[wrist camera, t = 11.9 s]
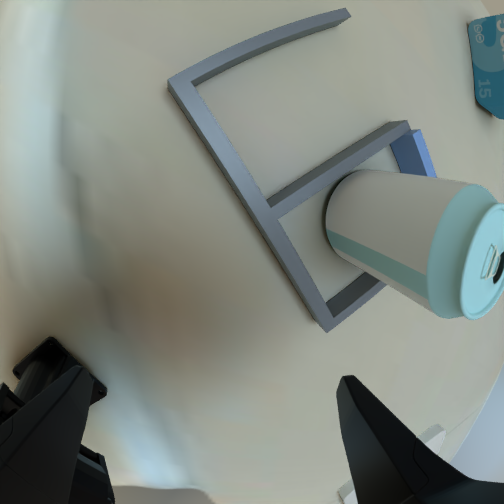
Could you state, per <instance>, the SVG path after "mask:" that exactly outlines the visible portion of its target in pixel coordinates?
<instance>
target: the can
mask: <svg viewBox="0 0 504 504" xmlns="http://www.w3.org/2000/svg"><path fill="white" fill-rule="evenodd" d="M326 231H327V235H328V239H329V242H330V244H331V246H332V247H333V249H334V250H335V252H336V253H337V254H338V255H339V256H340V257H342V258H343V259H345V260H346V261H348V262H350V263H352V264H353V265H355V266H357V267H358V268H360V269H362V270H363V271H365V272H367V273H369V274H370V275H372V276H374V277H375V278H377V279H379V280H380V281H382V282H384V283H385V284H387V285H389V286H390V287H392V288H394V289H395V290H397V291H399V292H400V293H402V294H404V295H405V296H407V297H408V298H410V299H412V300H413V301H415V302H417V303H418V304H420V305H421V306H423V307H425V308H426V309H428V310H429V311H431V312H433V313H434V314H436V315H437V316H439V317H442V318H447V319H451V318H456V317H461V316H465V317H466V318H467V319H469V320H476V319H479V318H481V317H482V316H484V315H485V314H486V313H487V312H488V311H489V310H490V309H491V308H492V307H493V306H494V305H495V303H496V302H497V300H498V299H499V297H500V296H501V294H502V292H503V290H504V204H503V203H498V202H497V200H496V199H495V198H494V197H493V195H492V194H491V193H490V192H489V191H488V190H487V189H486V188H484V187H483V186H481V185H478V184H472V183H467V182H461V181H455V180H448V179H442V178H435V177H428V176H420V175H413V174H404V173H395V172H386V171H376V170H360V171H357V172H354V173H352V174H350V175H349V176H347V177H346V178H344V179H343V180H342V181H341V182H340V183H339V185H338V186H337V187H336V189H335V190H334V192H333V194H332V196H331V198H330V201H329V203H328V207H327V212H326Z"/></svg>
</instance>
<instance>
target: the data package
mask: <svg viewBox="0 0 504 504" xmlns="http://www.w3.org/2000/svg"><path fill="white" fill-rule="evenodd" d="M468 34H469V40H470V46H471V54H472V62H473V72H474V85H475V96H476V99H477V101H478V103H479V104H480V105H482V106H483V107H484V108H486V109H487V110H488V111H489V112H491V113H492V114H493V115H494V116H496V117H497V118H499V119H504V14H500V15H495V16H490V17H485V18H481V19H476V20H474V21H472V22H471V23H470V25H469V27H468Z"/></svg>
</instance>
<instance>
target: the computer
mask: <svg viewBox="0 0 504 504" xmlns="http://www.w3.org/2000/svg"><path fill="white" fill-rule="evenodd" d="M445 434H446V431H445V430H444V429H443V428H442V427H441V426H440V425H439V424H435V425H433V426H431V427H430V428H428V429H427V430H426V431H425V432H423V433H422V434H421V435H419V436H418V438H419V439H420V440H421V441H422V442H423V443H424V444H425V445H426V446H427V447H428V448H429V449H431V450H432V451H433V452H434V453H435V454H437V455H438V453H439V451H440V448H441V445H442V443H443V440H444V437H445ZM339 494H340V497H341V499H342V501H343V504H358V502H357V498H356V493H355V489H354V484H353V480H352V479H351V480H350V481H348V482H347V483H345V484H344V485H343V486H342V487H341V488H340V489H339Z"/></svg>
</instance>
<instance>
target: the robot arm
mask: <svg viewBox="0 0 504 504" xmlns="http://www.w3.org/2000/svg"><path fill="white" fill-rule="evenodd" d="M49 342H50V343H52V344H53V345H51V344H50V343H49ZM17 371H18V372H17ZM13 374H14V375H15V376H16V377H17V378H18V379H19V380H20V381H19V383H18V385H17V387H16V389H15V391H14V393H13V392H12V391H11V390H10V389H9V387H8V386H7V385H6V384H5V383H4V382H3V383H2V384H1V385H0V504H115V498H114V493H113V489H112V486H111V482H110V478H109V475H108V471H107V467H106V462H105V458H104V456H102V455H101V454H99V453H95V452H94V451H92V450H90V449H89V448H87V447H85V446H84V445H82V444H81V440H82V437H83V433H84V429H85V425H86V421H87V416H88V410H89V406H90V405H92V404H93V403H95V402H97V401H99V400H100V399H102V398H104V397H105V396H106V395H107V388H106V387H105V386H104V385H102V384H101V383H100V382H99V381H98V380H97V379H96V378H95V377H93V376H92V375H91V374H90V373H89V372H88V371H87V369H86V368H85V367H83V366H82V365H81V364H79V363H78V362H77V361H76V360H75V359H74V358H73V357H72V356H71V355H70V354H69V353H68V352H67V351H66V350H65V349H64V348H63V347H62V345H61V344H60V343H59V342H58V341H57V340H56V339H55V338H53V337H48V338H47V339H45V340H44V341H43V342H42V343H41V344H40V345H38V346H37V347H36V348H35V349H34V350H33V351H32V352H30V353H29V354H28V355H27V356H26V357H25V358H24V359H23V360H21V361H20V362H19V363H18V364H17V365H16V366H15V367H14V369H13ZM99 390H100V391H99ZM101 391H103V392H101ZM336 397H337V404H338V412H339V420H340V428H341V434H342V439H343V443H344V447H345V451H346V455H347V459H348V463H349V467H350V472H351V476H352V480H353V484H354V489H355V493H356V498H357V502H358V504H504V483H498V482H487V481H479V480H474V479H471V478H469V477H467V476H465V475H464V474H462V473H461V472H459V471H458V470H456V469H455V468H454V467H453V466H451V465H450V464H448V463H447V462H446V461H444V460H443V459H442V458H440V457H439V456H438V455H437V454H435V453H434V452H433V451H432V450H431V449H429V448H428V447H427V446H426V445H425V444H424V443H423V442H422V441H421V440H420V439H419V438H418V437H417V438H416V435H414V434H413V433H412V432H411V431H410V430H409V429H408V428H407V427H406V426H405V425H404V424H403V423H402V422H401V421H400V420H399V419H398V418H397V417H396V416H395V415H394V414H393V413H392V412H391V411H390V410H389V409H388V408H387V407H386V406H385V405H384V404H383V403H382V402H381V401H380V400H379V399H378V398H377V397H376V396H375V395H373V394H372V393H371V392H370V391H369V390H368V389H367V388H366V387H365V386H364V385H363V384H362V383H361V382H360V381H359V380H358V379H357V378H356V377H355V376H354V375H347V376H343V377H342V378H341V380H340V383H339V386H338V388H337V392H336Z"/></svg>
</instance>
